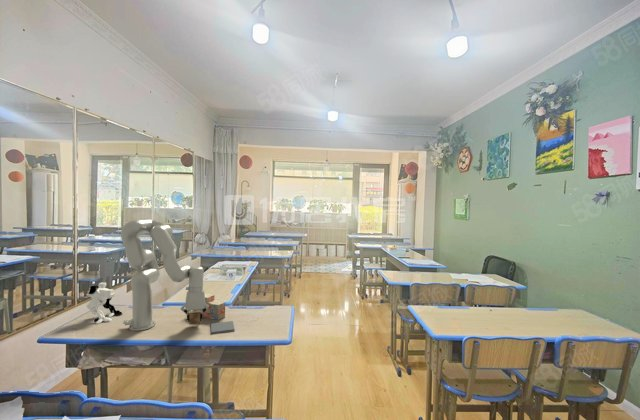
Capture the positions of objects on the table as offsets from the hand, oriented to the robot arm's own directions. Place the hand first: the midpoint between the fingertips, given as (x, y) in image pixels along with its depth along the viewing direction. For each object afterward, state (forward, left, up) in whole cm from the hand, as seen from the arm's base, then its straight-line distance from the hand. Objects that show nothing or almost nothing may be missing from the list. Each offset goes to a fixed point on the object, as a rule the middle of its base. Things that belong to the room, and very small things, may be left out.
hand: (194, 320), depth 169 cm
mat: (+15, -7, -3) cm, 17 cm away
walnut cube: (0, 0, -1) cm, 1 cm away
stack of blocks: (+8, +15, -4) cm, 17 cm away
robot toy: (-51, +30, -4) cm, 59 cm away
